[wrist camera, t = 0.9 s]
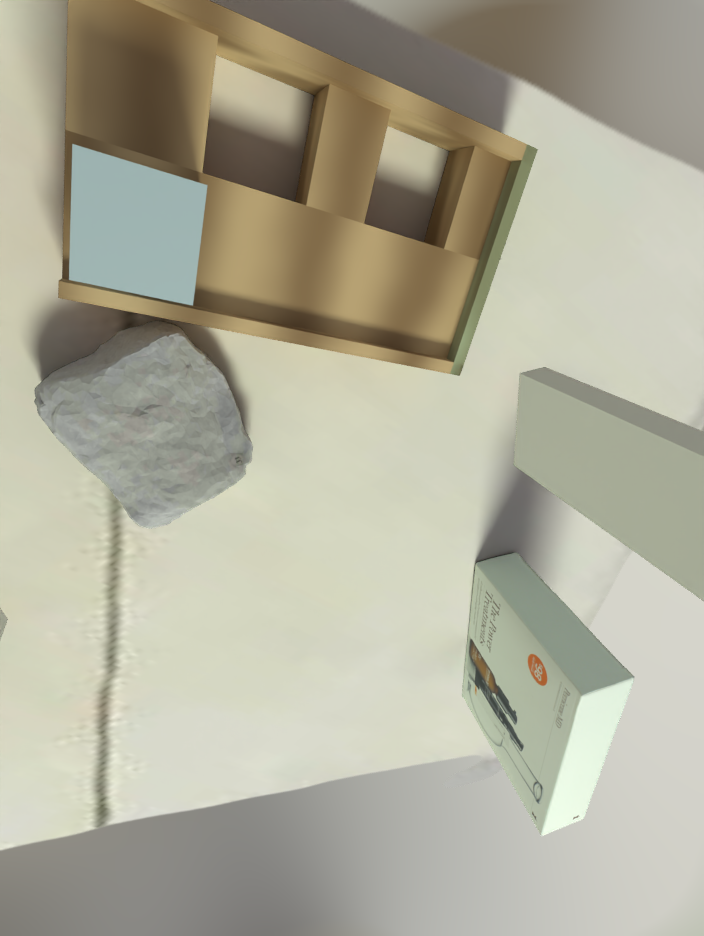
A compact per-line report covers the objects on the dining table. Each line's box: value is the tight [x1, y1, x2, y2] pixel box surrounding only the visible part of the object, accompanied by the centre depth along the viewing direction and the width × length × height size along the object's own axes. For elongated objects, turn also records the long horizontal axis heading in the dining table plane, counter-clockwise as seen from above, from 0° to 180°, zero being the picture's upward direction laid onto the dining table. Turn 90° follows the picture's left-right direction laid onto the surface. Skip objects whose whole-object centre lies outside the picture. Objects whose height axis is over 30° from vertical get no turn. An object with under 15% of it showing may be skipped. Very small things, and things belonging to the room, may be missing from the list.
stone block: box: [34, 321, 253, 529], centre depth 31 cm, size 12×5×10 cm
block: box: [69, 144, 207, 306], centre depth 23 cm, size 5×5×5 cm
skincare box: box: [462, 553, 634, 836], centre depth 48 cm, size 21×6×16 cm, turn 3°
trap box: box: [58, 0, 538, 376], centre depth 28 cm, size 24×14×4 cm, turn 75°
